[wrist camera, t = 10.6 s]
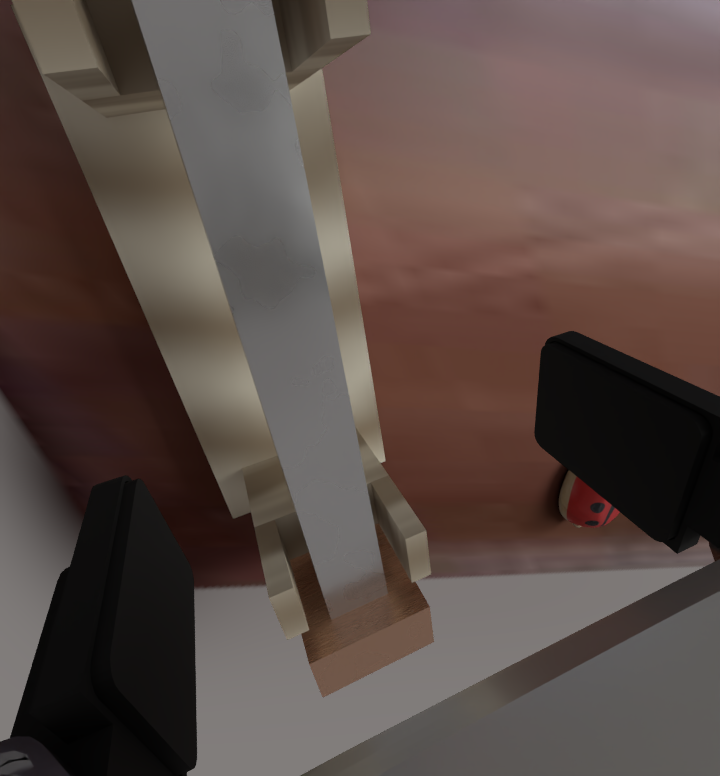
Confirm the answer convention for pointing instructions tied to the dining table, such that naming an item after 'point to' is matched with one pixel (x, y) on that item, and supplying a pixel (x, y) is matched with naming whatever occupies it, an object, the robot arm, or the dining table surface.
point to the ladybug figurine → (584, 504)
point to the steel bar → (283, 319)
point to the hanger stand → (195, 260)
